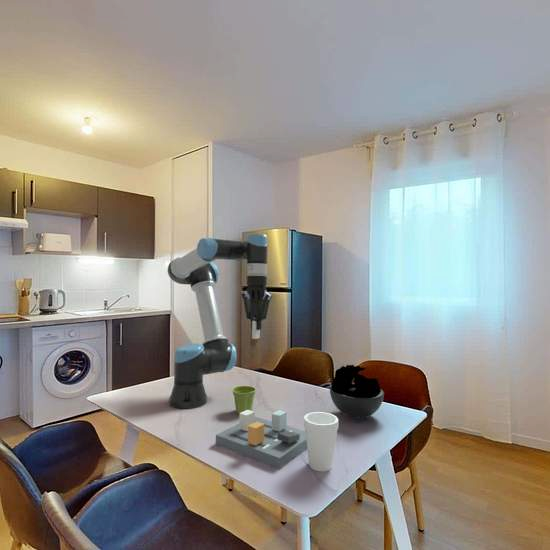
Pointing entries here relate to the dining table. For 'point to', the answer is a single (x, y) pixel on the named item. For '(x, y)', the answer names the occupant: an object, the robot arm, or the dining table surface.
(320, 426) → the foam cup
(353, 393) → the bowl of black rocks
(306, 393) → the dining table surface
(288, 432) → the block
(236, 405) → the plant pot
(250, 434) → the slider orange
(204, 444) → the dining table surface
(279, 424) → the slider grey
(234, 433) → the panel
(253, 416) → the slider cream
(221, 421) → the dining table surface
